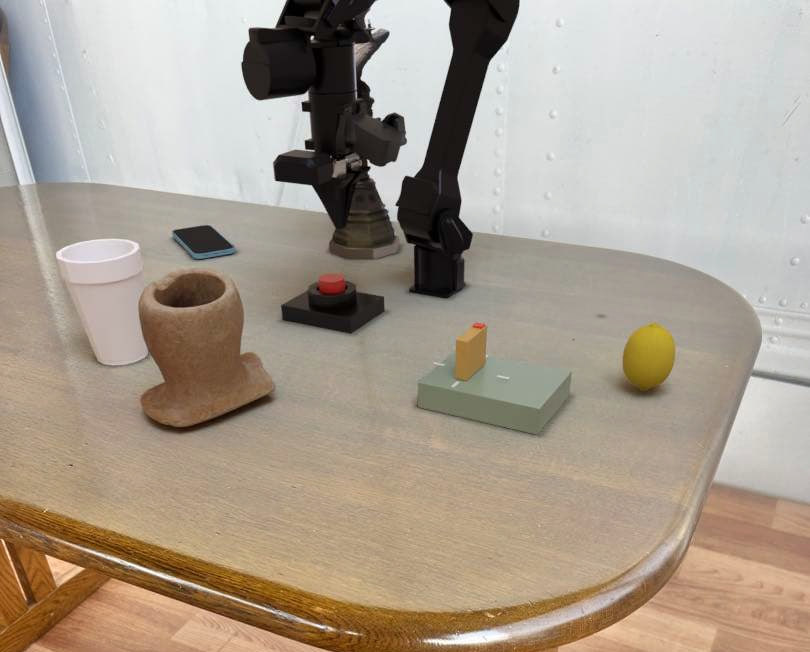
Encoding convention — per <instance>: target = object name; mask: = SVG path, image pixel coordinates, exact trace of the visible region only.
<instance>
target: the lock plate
mask: <svg viewBox="0 0 810 652" xmlns="http://www.w3.org/2000/svg"><path fill="white" fill-rule="evenodd" d="M455 364H456V350H454V351H452V353H451V354H449V355H448V356H447V357H446V358H445V359H443V361H441V362H435V361H433V363H432V365H434V366H435V367H434V368H433V369H432V370H430V371H429V372H428V373H427V374H425V376H423V377H422V378H421V379H420V380H418V382H417V407H418V408H420V409H425V410H428V411H432V412H437V413H442V414H446V415H451V416H455V417H459V418H463V419H467V420H472V421H475V422H481V423H484V424H490V425H494V426H498V427H501V428H502V427H503V428H506V429H511V430H515V431H519V432H523V433H527V434H531V435H536V436H538V435H539V433H540V432H541V431H542V430H543V429H544V427H545V426H546V425H547V424H548V422H549V421H550V420H551V419H552V418H553V416H554V415H555V414H556V413H557V411H559V409H560V408H561V407H562V406H563V404H564V403H565V402H566V400H567V399H568V398H570V393H571V392H570V391H571V383H572V374H573V372H572V371H571V370H565V369H561V368H555V367H550V366H545V365H541V364H535V363H529V362H525V361H520V360H515V359H511V358H505V357H500V356H494V355H490V354H486V362H485V365H484V366H483V367H481V368H480V369H479V370H478V371H477V372H476V373H475V374H474V375H473V376H471V377H470V378H469V379H468V380H467V381H464V380H460V379H455Z"/></svg>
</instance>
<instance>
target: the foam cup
mask: <svg viewBox="0 0 810 652" xmlns="http://www.w3.org/2000/svg"><path fill="white" fill-rule="evenodd" d="M141 253H142V252H141V249H140V245H139V243H138V242H135V241H133V240H130V239H123V238H100V239H99V238H98V239H97V238H96V239H90V240H85V241H80V242H76V243H72V244H70V245H67V246H63V247H62V248H61V249H59V250H58V251H56V252H55V254H56V255H55V257H56V262H57V265H58V269H59V273H60V277H61V279H63V280H64V282H65V284H66V288H67V290H68V292H69V294H70V297H71V299H72V302H73V304H74V307H75V310H76V312H77V314H78V317H79V320H80V322H81V324H82V326H83V330H84V331H85V334H86V336H87V339H88V341H89V343H90V346H91V349H92V351H93V354H94V356H95V357H96V360H97V362H99V364H102V365H105V366H125V365H130V364H134V363H137V362H139V361H142V360H144V359H146V357H147V356H148V355H149V350H148V348H147V346H146V344H145V341H144V338H143V334H142V330H141V325H140V319H139V310H138V305H139V299H140V296H141V294H142V293H143V291H144V289H145V288H144V277H143V270H144V269H145V268H144V264H143V258H142V254H141Z"/></svg>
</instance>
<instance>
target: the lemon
mask: <svg viewBox="0 0 810 652" xmlns="http://www.w3.org/2000/svg"><path fill="white" fill-rule="evenodd" d="M622 353H623V354H622V363H621V365H622V371H623V373H624V376H625V378H626V379H627V381H628V382H630V384H632V385H633V386H635V387H637V388H638V389H639V391H641V392H646V391H647V390H650V388H651V389H652V388H655V387H658V386H659V385H661V384H662V383H664V382H665V381H666V380H667V378H668V377H669V376H670V374H671V373H672V371H673V368H674V364H675V359H676V344H675V340H674V338H673V335H672V334H671V332H670V331H668V329H666V328H665V327H663V326H661V325H659V323H658V322H656V321H652V322H650V323H649V324H645V325H642V326H640V327H638V328H637V329H635V330H634V331H633V332H632V333H631V334H630V336H629V338H628V339H627V340H626V343H625V346H624V349H623V352H622Z"/></svg>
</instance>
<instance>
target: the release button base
mask: <svg viewBox="0 0 810 652" xmlns="http://www.w3.org/2000/svg"><path fill="white" fill-rule="evenodd" d="M280 309H281V318H282V321H284V322H290V323H294V324H300V325H304V326H308V327H309V326H310V327H313V328H314V327H315V328H319V329H325V330H329V331H335V332H338V333H339V332H340V333H345V334H350V335H351V334H353V333H355V332H356V331H358V330H359V329H361V328H362V327H364V326H366V325H367V324H368V323H370V322H372V321H373V320H374V319H376V318H377V317H378V316H380V315H382V314H383V313H384V312H385V296H383V295H378V294H371V293H365V292H362V291H361V292H360V291H357V284H356V283H354V282H352V281H350V280H345V290H344V291H343V292H338V293H323V292H319V285H318V281H317V282H313V283H311V284H310V285H308V288H307V290H306V291H304V292H302V293H300V294H299V295H297V296H295V297H292V298H291V299H289V300H287V301H286V302H284V303H282V304H281V305H280Z"/></svg>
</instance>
